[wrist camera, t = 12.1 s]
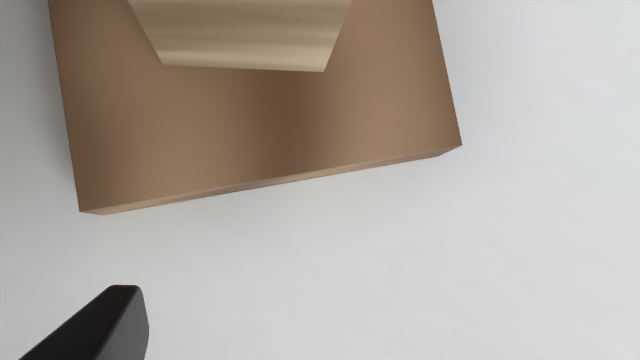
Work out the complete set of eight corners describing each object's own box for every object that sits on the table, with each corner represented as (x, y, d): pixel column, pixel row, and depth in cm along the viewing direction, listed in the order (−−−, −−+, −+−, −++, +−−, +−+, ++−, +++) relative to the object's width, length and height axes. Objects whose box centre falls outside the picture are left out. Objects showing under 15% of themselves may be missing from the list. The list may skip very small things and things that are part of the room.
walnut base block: (102, 215, 19) (79, 211, 17) (51, -115, 20) (23, -165, 18) (437, 156, 21) (462, 145, 18) (375, -149, 22) (390, -199, 19)
